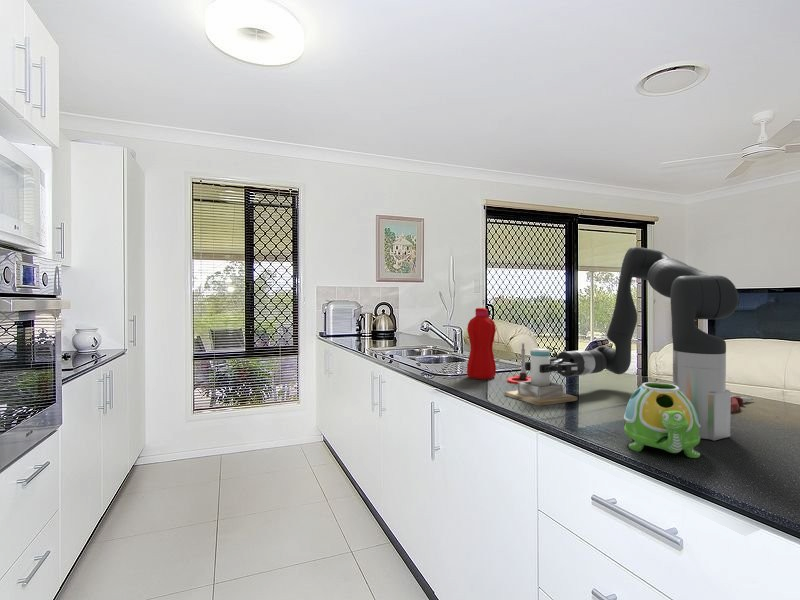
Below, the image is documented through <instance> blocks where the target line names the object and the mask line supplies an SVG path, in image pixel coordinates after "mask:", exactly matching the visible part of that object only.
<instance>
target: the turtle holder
mask: <svg viewBox="0 0 800 600" xmlns="http://www.w3.org/2000/svg"><path fill="white" fill-rule="evenodd" d="M623 419H624V423H625V425H624V428H623V431H624V433H625V435H626V436H627V437H628V438H630V439H631V440H633V442H629V443H628V448H629V449H630V450H631V451H634V452H640V453H641V452H642V450H643V449H644V447H645V446H646V447H650V448H651V447H652V448H656V449H660V450H664V451H665V452H668V453H670V454H671V453H672V454H679V453H680V452H682V451H683V453H684V455H685V456H686V457H687V458H691V459H696V458H697V459H698V458H700V457H701V453H700V452H699V451H697V450H695V449H694V448H695V447H696V446H698V445H699V444H700V441H701V438H700V436H699V428H700V424H699V421H698V416H697V413H696V411H695V408H694V406H693V404H692V403H691V402H690V400H689V399H688V398H687V397H686V396H685V395H684V394H683V393H682V392H681V391H680V389H679V387H678V386H676V385H673V383H667V382H655V381H654V382H651V381H650V382H643V383H641V385H640V386H639V387H637V388H636V389H635V390H634V392H633V393H632V395H631V396H630V398H629V400H628V402H627V405H626V408H625V413H624V414H623Z"/></svg>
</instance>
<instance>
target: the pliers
mask: <svg viewBox="0 0 800 600" xmlns="http://www.w3.org/2000/svg"><path fill="white" fill-rule="evenodd" d="M751 401H754V399H753V398H750V397H745V396H741V395H731V413H737V412H738V411H739V410H740V405H741V407H742V406H744V404H745V403H748V402H751ZM736 411H737V412H736Z"/></svg>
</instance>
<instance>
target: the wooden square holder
mask: <svg viewBox="0 0 800 600" xmlns="http://www.w3.org/2000/svg"><path fill="white" fill-rule="evenodd" d="M525 381H526V380H525ZM563 388H564V387H563V384H558V383H555V382H550V386H545V387H537V386H533V385H531V381H526V382H518V384H517V389H516V390H508V391H504V393H503V394H504V396H506V397H509V398H513V399H516V400H519V401H523V402H525V403H528V404H529V403H530V404H533V405H536V406H538V407H542V406H549V405H554V404H561V403H562V404H563V403H567V402H576V401H578V396H575V395H571V394H567V393H564V392H563Z"/></svg>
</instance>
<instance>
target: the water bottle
mask: <svg viewBox="0 0 800 600" xmlns="http://www.w3.org/2000/svg"><path fill="white" fill-rule="evenodd" d="M474 312H475V316H474V317H472V318H471V319H469V321H468V324H467V329H466V330H467V335H468V339H469V343H470V352H469V356H468V359H467V365H466V367H467V368H466V376H467V377H468V378H469V379H475V380H483V381H486V380H490V379H492V378H494V377H495V376H496V373H497V370H496V369H497V366H496V365H497V364H496V359H495V356H494V351H493V345H496V346H499V344H500V343H499V342H500V339H499V337H500V336H497V344H495V337H496V336H495V335H496V334H497V335H499V333H498V329H497V325H496V323H495V320H493V319H492V318H491V317H489V315H490V313H489V310H488V309H487V308H485V307H477V308H475V310H474Z"/></svg>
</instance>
